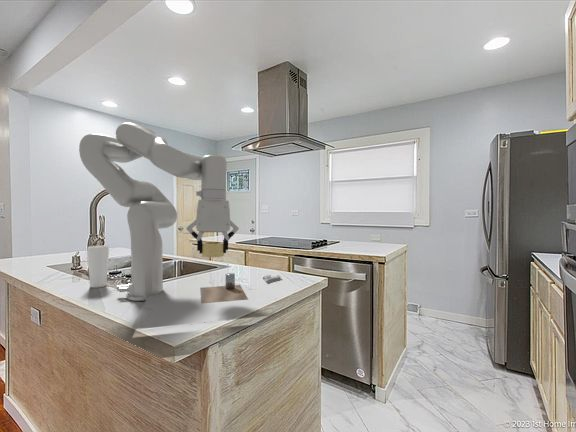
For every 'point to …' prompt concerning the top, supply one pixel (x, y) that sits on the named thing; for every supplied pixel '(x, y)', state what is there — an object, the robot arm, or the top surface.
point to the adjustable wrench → (271, 278)
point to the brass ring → (212, 249)
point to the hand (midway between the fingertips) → (212, 252)
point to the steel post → (230, 281)
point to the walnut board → (221, 294)
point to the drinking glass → (98, 265)
